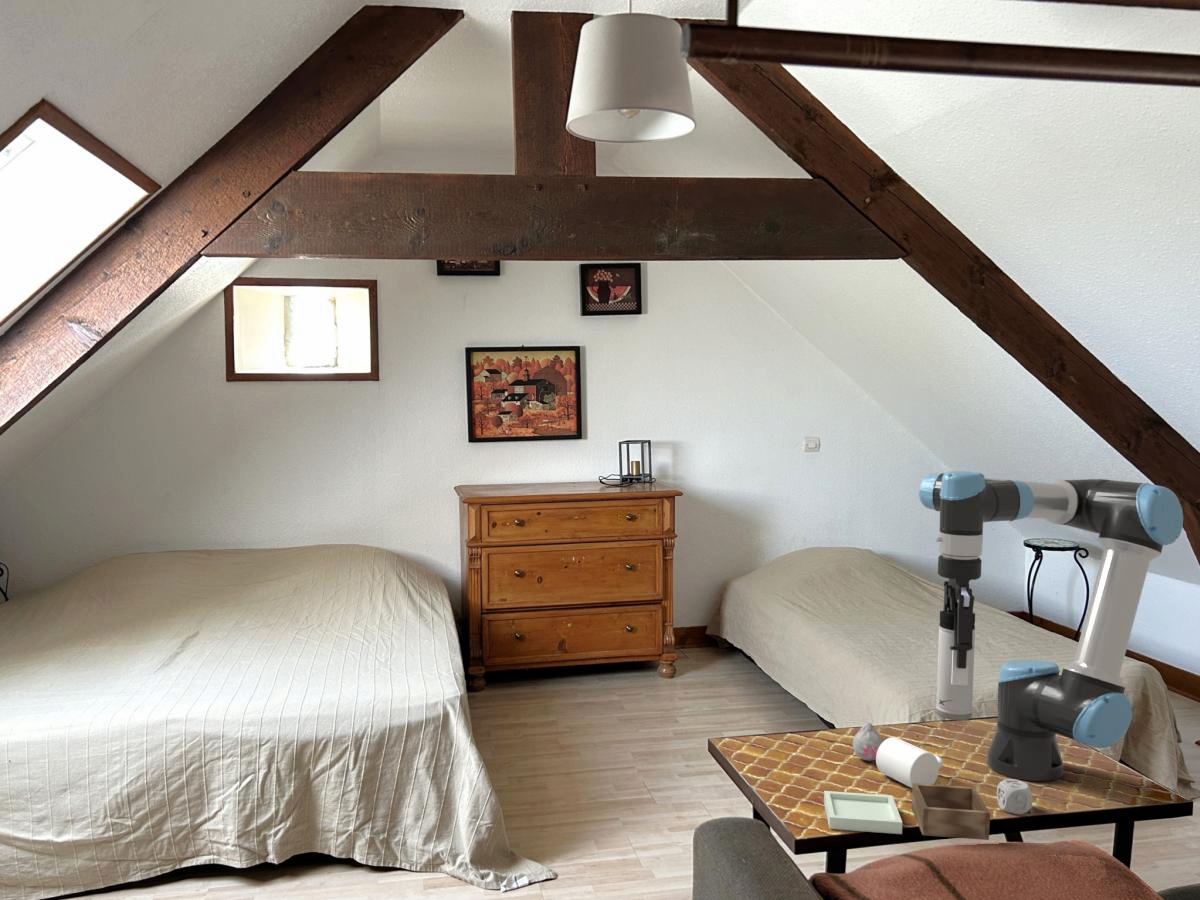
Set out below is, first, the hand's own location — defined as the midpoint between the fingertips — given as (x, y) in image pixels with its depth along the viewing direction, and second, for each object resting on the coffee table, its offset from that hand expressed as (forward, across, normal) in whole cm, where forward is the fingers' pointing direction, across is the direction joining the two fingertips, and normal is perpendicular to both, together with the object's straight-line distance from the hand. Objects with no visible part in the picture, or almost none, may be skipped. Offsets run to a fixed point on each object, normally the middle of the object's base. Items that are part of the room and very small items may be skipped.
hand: (955, 678), depth 185 cm
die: (+28, -9, +14) cm, 32 cm away
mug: (+28, -20, -3) cm, 35 cm away
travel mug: (+7, 0, 0) cm, 7 cm away
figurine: (+28, -30, -11) cm, 42 cm away
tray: (+28, 0, -16) cm, 32 cm away
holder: (+28, 0, 0) cm, 28 cm away
